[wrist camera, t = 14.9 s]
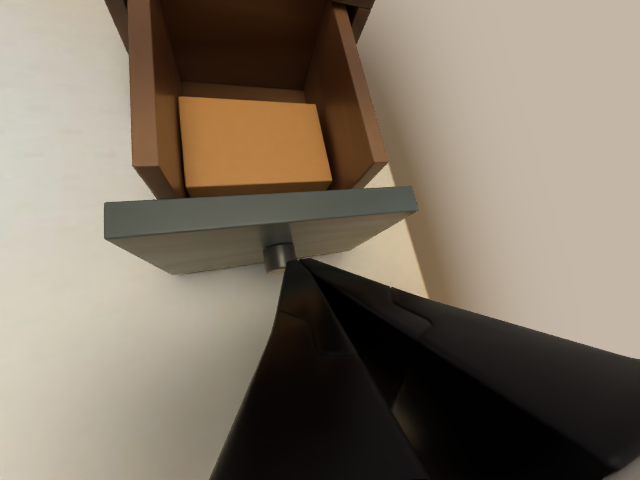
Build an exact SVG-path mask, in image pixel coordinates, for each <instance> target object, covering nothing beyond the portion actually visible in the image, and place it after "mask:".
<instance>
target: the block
mask: <svg viewBox="0 0 640 480" xmlns="http://www.w3.org/2000/svg"><path fill="white" fill-rule="evenodd" d="M178 105H179V117H180V128H181V140H182V152H183V164H184V176H185V187H186V189H187V191H188V193H189V195H190V198H197V197H216V196H235V195H253V194H272V193H290V192H309V191H326V190H327V188H328V187H329V185H330V184H331V182H332V176H331V171H330V167H329V162H328V158H327V153H326V149H325V144H324V140H323V135H322V131H321V126H320V122H319V118H318V113H317V109H316V105H315V104H302V103H285V102H268V101H251V100H234V99H217V98H200V97H183V96H179V97H178Z"/></svg>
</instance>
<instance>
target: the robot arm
mask: <svg viewBox="0 0 640 480" xmlns="http://www.w3.org/2000/svg"><path fill="white" fill-rule="evenodd" d="M209 480H640V359H635V358H630V357H626V356H622V355H618V354H615V353H611V352H608V351H605V350H601V349H598V348H594V347H591V346H588V345H584V344H581V343H577V342H574V341H570V340H567V339H563V338H560V337H556V336H553V335H549V334H546V333H543V332H539V331H535V330H532V329H529V328H525V327H522V326H518V325H515V324H512V323H508V322H505V321H501V320H498V319H494V318H491V317H488V316H484V315H481V314H477V313H474V312H471V311H467V310H464V309H460V308H457V307H453V306H449V305H446V304H442V303H440V302H436V301H432V300H430V299H426V298H423V297H420V296H417V295H414V294H411V293H408V292H405V291H402V290H399V289H396V288H394V287H391V288H390V287H389V286H387V285H384V284H381V283H378V282H375V281H373V280H370V279H367V278H364V277H361V276H359V275H356V274H353V273H350V272H347V271H345V270H342V269H339V268H336V267H333V266H331V265H328V264H325V263H322V262H319V261H317V260H314V259H311V258H305V259H300V260H299V261H298V260H291V261H287V262H286V267H285V272H284V277H283V282H282V286H281V291H280V296H279V301H278V306H277V311H276V315H275V320H274V323H273V327H272V331H271V334H270V337H269V339H268V342H267V345H266V347H265V350H264V352H263V354H262V357H261V359H260V361H259V364H258V366H257V369H256V371H255V373H254V376H253V378H252V380H251V383H250V385H249V387H248V390H247V392H246V394H245V397H244V399H243V401H242V404H241V406H240V408H239V411H238V413H237V415H236V418H235V420H234V423H233V425H232V427H231V430H230V432H229V434H228V437H227V439H226V441H225V444H224V446H223V448H222V451H221V453H220V455H219V458H218V460H217V462H216V465H215V467H214V469H213V472H212V474H211V477H210V479H209Z"/></svg>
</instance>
